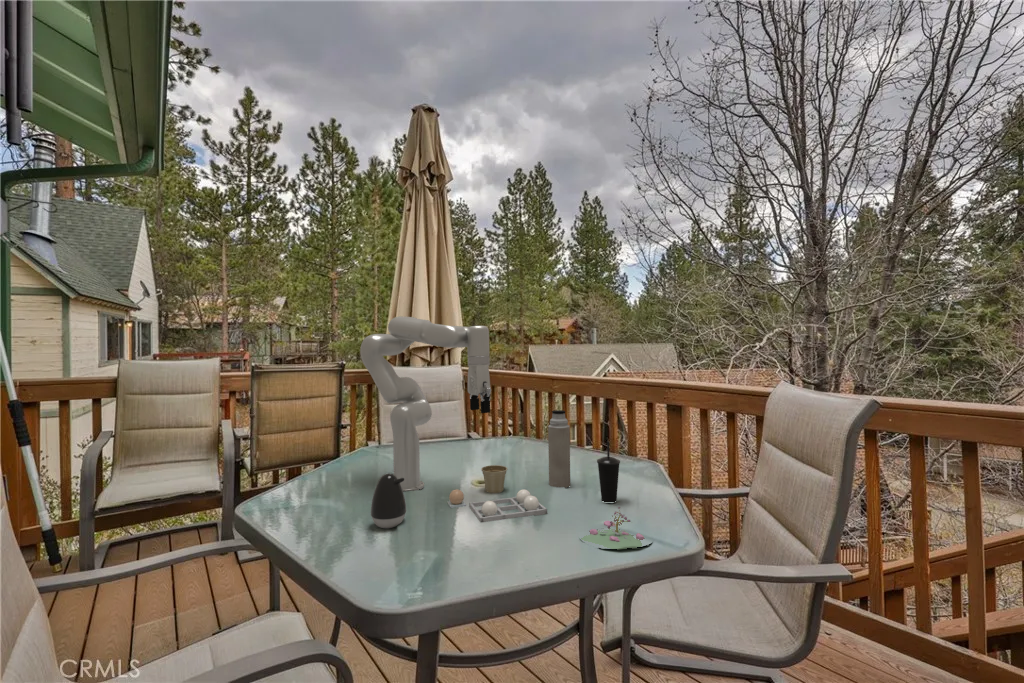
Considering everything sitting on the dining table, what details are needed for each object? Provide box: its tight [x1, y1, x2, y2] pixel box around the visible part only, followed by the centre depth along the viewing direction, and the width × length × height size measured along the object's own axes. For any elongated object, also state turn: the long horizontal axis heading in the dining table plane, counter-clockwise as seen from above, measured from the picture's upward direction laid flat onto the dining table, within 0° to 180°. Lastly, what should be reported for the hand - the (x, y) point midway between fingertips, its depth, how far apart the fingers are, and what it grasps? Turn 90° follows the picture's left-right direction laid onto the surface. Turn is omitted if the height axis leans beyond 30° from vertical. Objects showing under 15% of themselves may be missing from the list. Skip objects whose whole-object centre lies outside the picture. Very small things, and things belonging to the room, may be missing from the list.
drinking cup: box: [596, 441, 621, 502], centre depth 157 cm, size 8×8×20 cm
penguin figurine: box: [370, 473, 407, 529], centre depth 139 cm, size 10×10×15 cm
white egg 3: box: [524, 495, 540, 511], centre depth 147 cm, size 5×5×5 cm
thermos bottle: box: [547, 409, 571, 489], centre depth 176 cm, size 8×8×28 cm
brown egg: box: [448, 488, 465, 505], centre depth 154 cm, size 5×5×5 cm
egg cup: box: [447, 500, 467, 509], centre depth 154 cm, size 6×6×1 cm
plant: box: [581, 506, 645, 550], centre depth 132 cm, size 25×21×9 cm
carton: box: [468, 496, 548, 523], centre depth 148 cm, size 21×14×2 cm
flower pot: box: [480, 464, 508, 494], centre depth 169 cm, size 9×9×9 cm
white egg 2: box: [515, 488, 532, 504], centre depth 154 cm, size 5×5×5 cm
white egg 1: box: [481, 500, 498, 517], centre depth 143 cm, size 5×5×5 cm
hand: (480, 411), depth 162 cm, fingers open, 9 cm apart
